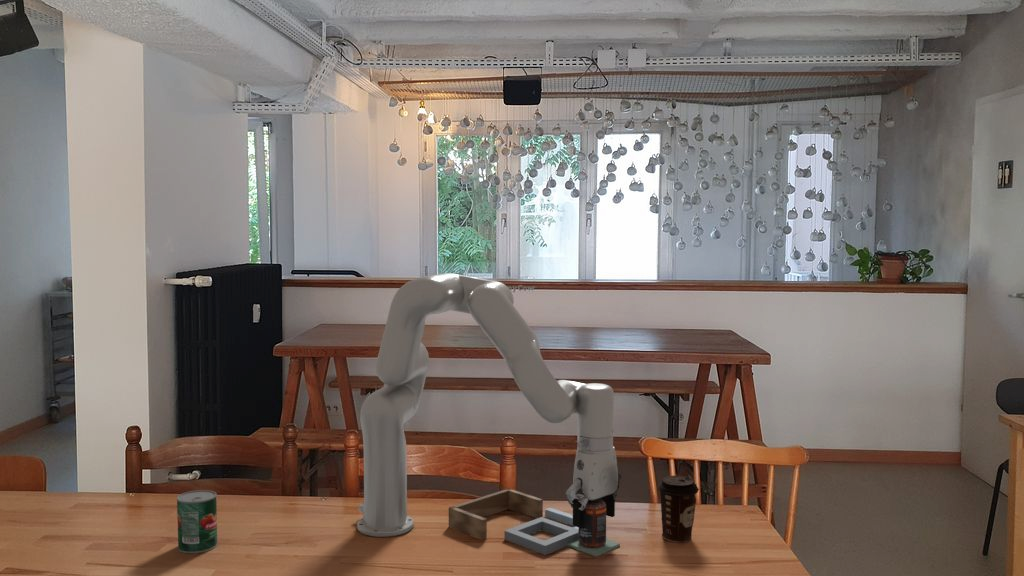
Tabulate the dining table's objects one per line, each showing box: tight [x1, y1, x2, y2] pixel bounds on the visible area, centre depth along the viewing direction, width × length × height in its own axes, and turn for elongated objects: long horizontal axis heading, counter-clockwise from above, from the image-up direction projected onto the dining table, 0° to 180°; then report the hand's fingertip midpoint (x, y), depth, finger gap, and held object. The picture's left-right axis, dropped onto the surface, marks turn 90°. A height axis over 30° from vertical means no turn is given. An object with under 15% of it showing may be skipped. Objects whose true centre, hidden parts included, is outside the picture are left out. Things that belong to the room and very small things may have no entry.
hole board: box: [503, 516, 579, 556], centre depth 181 cm, size 12×12×2 cm
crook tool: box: [544, 507, 579, 529], centre depth 189 cm, size 14×7×2 cm, turn 46°
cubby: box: [448, 488, 544, 541], centre depth 191 cm, size 11×19×4 cm, turn 136°
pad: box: [566, 538, 621, 558], centre depth 178 cm, size 8×8×1 cm
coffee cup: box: [658, 475, 700, 543], centre depth 182 cm, size 9×8×13 cm
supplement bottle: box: [578, 493, 607, 548], centre depth 177 cm, size 6×6×11 cm
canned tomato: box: [176, 489, 218, 554], centre depth 175 cm, size 8×8×11 cm
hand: (593, 521), depth 177 cm, fingers open, 9 cm apart
